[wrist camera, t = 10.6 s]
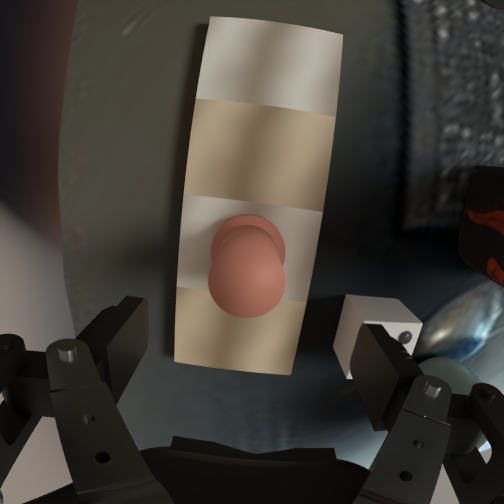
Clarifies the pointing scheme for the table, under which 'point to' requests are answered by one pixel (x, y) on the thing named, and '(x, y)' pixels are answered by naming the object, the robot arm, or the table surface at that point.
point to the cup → (452, 377)
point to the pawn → (247, 266)
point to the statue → (484, 224)
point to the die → (373, 312)
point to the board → (255, 180)
